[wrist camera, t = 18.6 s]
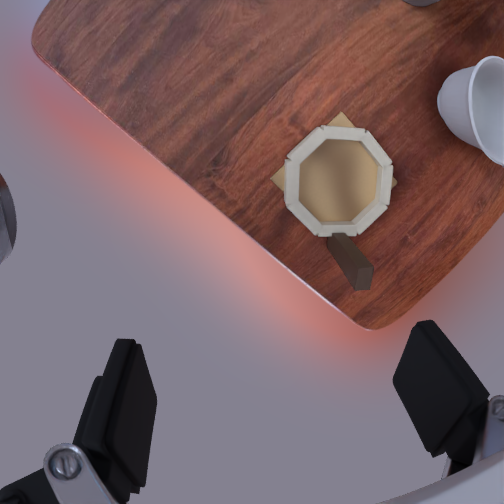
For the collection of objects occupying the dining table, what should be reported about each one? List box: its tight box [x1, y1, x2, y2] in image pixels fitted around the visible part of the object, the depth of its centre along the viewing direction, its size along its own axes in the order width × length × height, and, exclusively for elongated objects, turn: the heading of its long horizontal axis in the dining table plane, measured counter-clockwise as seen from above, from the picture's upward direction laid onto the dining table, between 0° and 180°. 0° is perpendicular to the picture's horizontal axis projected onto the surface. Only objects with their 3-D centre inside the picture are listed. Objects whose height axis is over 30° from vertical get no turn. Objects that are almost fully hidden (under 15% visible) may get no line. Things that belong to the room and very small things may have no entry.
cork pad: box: [270, 112, 397, 221], centre depth 33 cm, size 11×11×1 cm
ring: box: [284, 125, 393, 291], centre depth 29 cm, size 14×12×10 cm
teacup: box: [437, 56, 504, 167], centre depth 26 cm, size 12×15×10 cm
